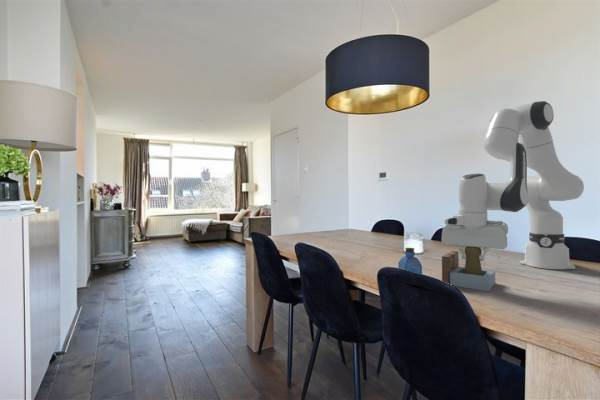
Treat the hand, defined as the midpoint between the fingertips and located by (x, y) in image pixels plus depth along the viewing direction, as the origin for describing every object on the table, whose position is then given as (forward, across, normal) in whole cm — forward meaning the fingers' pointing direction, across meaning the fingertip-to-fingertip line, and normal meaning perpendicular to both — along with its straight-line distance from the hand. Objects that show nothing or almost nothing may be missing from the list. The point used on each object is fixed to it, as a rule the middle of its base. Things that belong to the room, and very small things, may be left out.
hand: (473, 259), depth 113 cm
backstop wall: (+9, +7, 0) cm, 11 cm away
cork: (+6, 0, 0) cm, 7 cm away
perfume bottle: (+9, +19, +8) cm, 23 cm away
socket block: (+9, 0, 0) cm, 9 cm away
